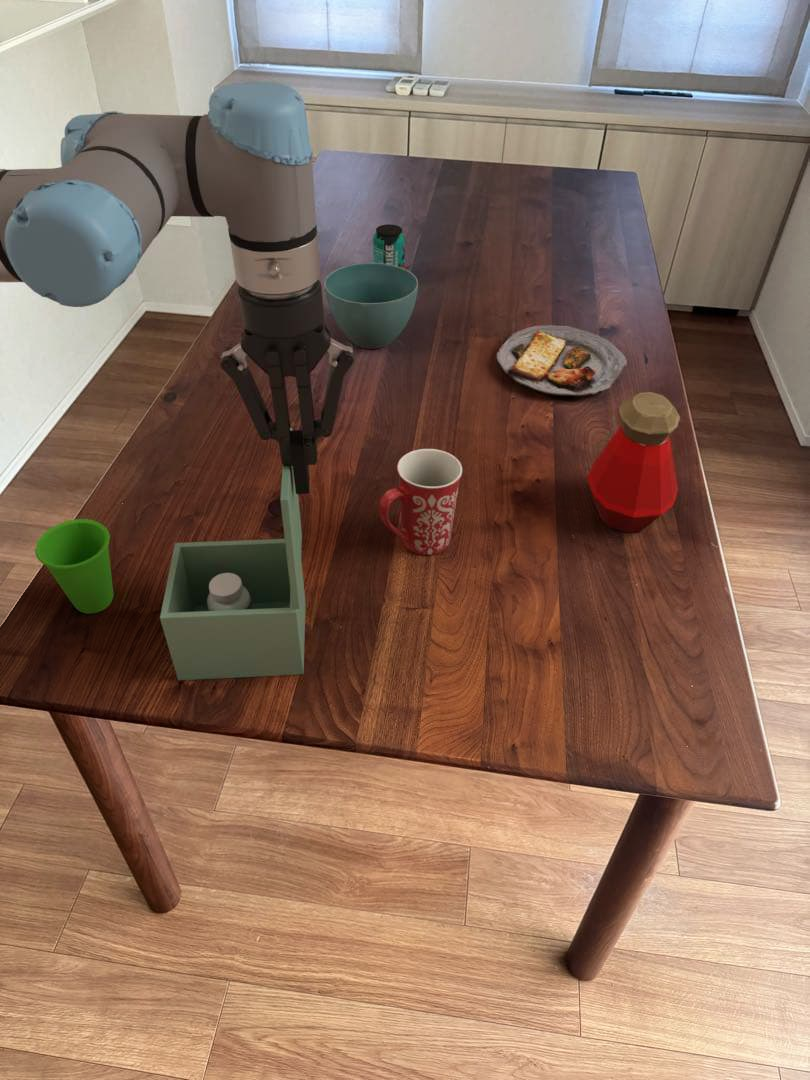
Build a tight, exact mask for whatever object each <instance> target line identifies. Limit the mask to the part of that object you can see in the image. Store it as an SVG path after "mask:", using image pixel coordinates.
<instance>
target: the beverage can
mask: <svg viewBox="0 0 810 1080" xmlns="http://www.w3.org/2000/svg"><path fill="white" fill-rule="evenodd" d="M372 249H373V250H372V251H373V255H372V256H373V257H372V258H373V262H372V263H384V264H390V265H394V266H398V267H401V268H404V269H406V236H405V234H404V233H403V228H402V227H401V226H399V225H397V224H391V223H390V224H389V223H388V224H382V225H379V226H377V227H376V228H375V233H374V234H373V237H372Z"/></svg>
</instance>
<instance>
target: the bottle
mask: <svg viewBox="0 0 810 1080" xmlns="http://www.w3.org/2000/svg"><path fill="white" fill-rule="evenodd" d="M618 414H619V420H620V426H619V427H618V428H617V430H616V431H615V432H614V434H613V435H612V436H611V438H610V440H609V441H608V442H607V444H606V445H605V447H603V450H602V451H601V452H600V454H599V455H598V457H597V458H596V459H595V460H594V462H593V464H592V465H591V468H590V470H589V473H588V475H587V477H586V478H587V479H586V480H587V482H588V485H589V487H590V490H591V494H592V497H593V500H594V503H595V505H596V508H597V511H598V514H599V517H600V519H601V521H602V522H603V523H604V524H605V525H606V526H607V527H608V528H609V529H612V530H615V531H618V532H621V533H624V534H629V533H630V534H631V533H641V532H642V531H644V530H645V529H646V528H648V527H649V526H650V525H651V524H652V523H653V522H655V521H656V520H657V519H658V518H660V517H661V516H662V515H664V514H665V513H666V512H667V511H668V510H670V509H671V508H672V506H674V505H675V502H676V498H677V496H678V491H679V487H678V486H679V485H678V480H677V473H676V469H675V462H674V455H673V449H672V443H671V438H670V436H671V435H672V434H673V433H674V432H675V430H676V429H677V428H678V426H679V423H680V420H681V417H680V415H679V413H678V411H677V409H676V407H675V406H674V405H673V404H672V402H671V401H670V400H669V399H668V398H667V397H666V396H664V395H663V394H660V393H656V392H653V391H647V392H639V393H636V394H633V395H631V396H630V397H628V398H627V399H625V400H623V401H622V402H621V404H620V407H619V409H618Z"/></svg>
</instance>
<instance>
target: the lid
mask: <svg viewBox="0 0 810 1080" xmlns="http://www.w3.org/2000/svg"><path fill="white" fill-rule="evenodd" d="M292 430H293V428H292V427H290V431H292ZM281 466H282V468H281V482H280V483H281V484H280V499H279V500H280V510H281V518H282V529H283V537H284V539H285V546H286V555H287V563H288V572H289V581H290V590H291V599H292V607H293V609H300V582H301V562H302V549H303V546H302V545H303V532H302V520H301V512H300V511H301V509H300V499H299V494H296V490H295V482H294V474H293V467H292V466H283V465H281Z"/></svg>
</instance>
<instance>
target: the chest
mask: <svg viewBox="0 0 810 1080" xmlns="http://www.w3.org/2000/svg"><path fill="white" fill-rule="evenodd" d="M222 573H233V574H236V575H237V576H239V577H240V579H241V581H242V585H243V587H245V588H246V589H247V591H248V592H249V595H250V598H251V604H252V609H245V610H222V611H208V607H207V598H208V595H209V594H210V591H209V583H210V581H211V580H212V579H213V578H214V577H215V576H217V575H219V574H222ZM303 573H304V571H303V563H302V561H301V582H300V609H293V607H292V599H291V590H290V581H289V572H288V563H287V555H286V546H285V538H274V539H246V540H244V539H243V540H221V541H219V540H218V541H216V540H215V541H193V542H192V541H191V542H175V543H174V546H173V551H172V557H171V561H170V566H169V571H168V575H167V581H166V586H165V590H164V595H163V602H162V606H161V611H160V616H159V620H160V623H161V627H162V631H163V634H164V637H165V640H166V643H167V647H168V650H169V654H170V658H171V661H172V664H173V667H174V670H175V671H174V672H175V674H176V678H177V680H178V681H194V680H195V681H196V680H215V679H233V678H235V679H236V678H255V677H276V676H296V675H300V676H301V675H304V674H305V638H306V637H305V636H306V591H305V582H304V574H303Z"/></svg>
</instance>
